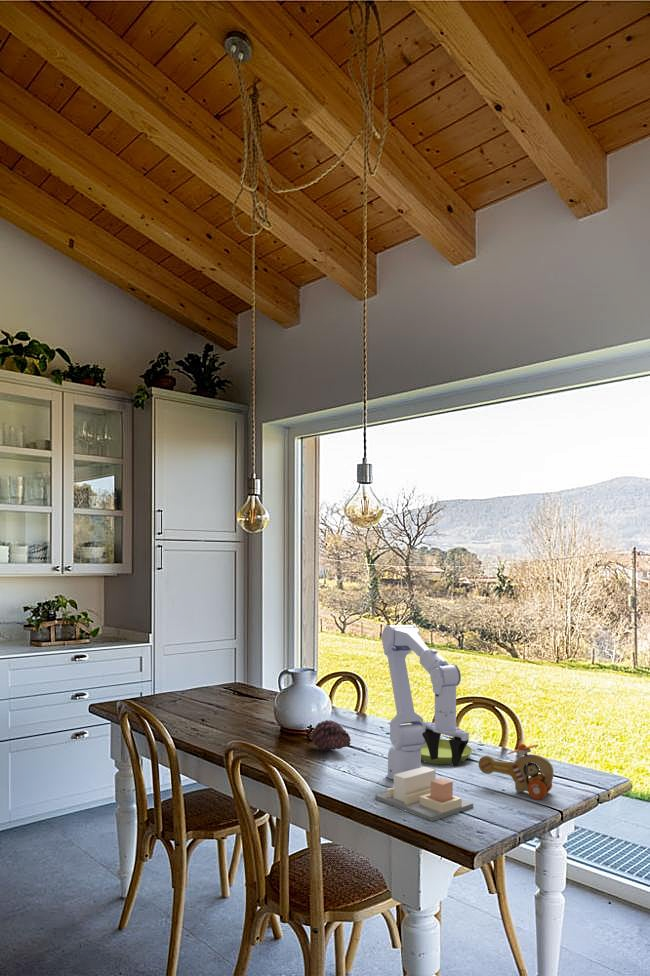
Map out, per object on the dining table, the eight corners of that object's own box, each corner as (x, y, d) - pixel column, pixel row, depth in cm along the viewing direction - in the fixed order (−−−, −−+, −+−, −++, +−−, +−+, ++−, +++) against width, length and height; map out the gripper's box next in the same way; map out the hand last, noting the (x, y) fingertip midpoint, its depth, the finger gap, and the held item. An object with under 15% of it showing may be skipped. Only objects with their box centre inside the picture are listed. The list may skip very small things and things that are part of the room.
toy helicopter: (549, 802, 200) (549, 749, 201) (474, 788, 210) (474, 738, 211) (556, 793, 207) (556, 742, 208) (483, 780, 217) (483, 732, 218)
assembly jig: (375, 798, 200) (375, 787, 200) (416, 786, 210) (416, 776, 210) (431, 821, 185) (432, 808, 185) (473, 807, 195) (473, 795, 195)
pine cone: (359, 755, 240) (359, 723, 241) (336, 761, 233) (336, 728, 234) (323, 743, 253) (323, 713, 254) (300, 748, 247) (300, 717, 247)
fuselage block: (393, 797, 198) (393, 774, 198) (424, 788, 206) (424, 766, 206) (404, 802, 195) (404, 778, 195) (435, 792, 203) (435, 770, 203)
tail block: (430, 804, 193) (430, 780, 194) (440, 801, 196) (440, 777, 196) (442, 809, 190) (442, 784, 191) (452, 805, 193) (452, 781, 193)
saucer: (397, 761, 236) (397, 750, 236) (419, 745, 254) (419, 735, 254) (462, 771, 227) (462, 760, 227) (479, 754, 245) (479, 744, 245)
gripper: (415, 707, 204) (414, 758, 203) (456, 717, 193) (456, 771, 192) (432, 704, 209) (432, 754, 208) (474, 714, 198) (473, 766, 197)
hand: (444, 762), depth 200 cm, fingers open, 7 cm apart
